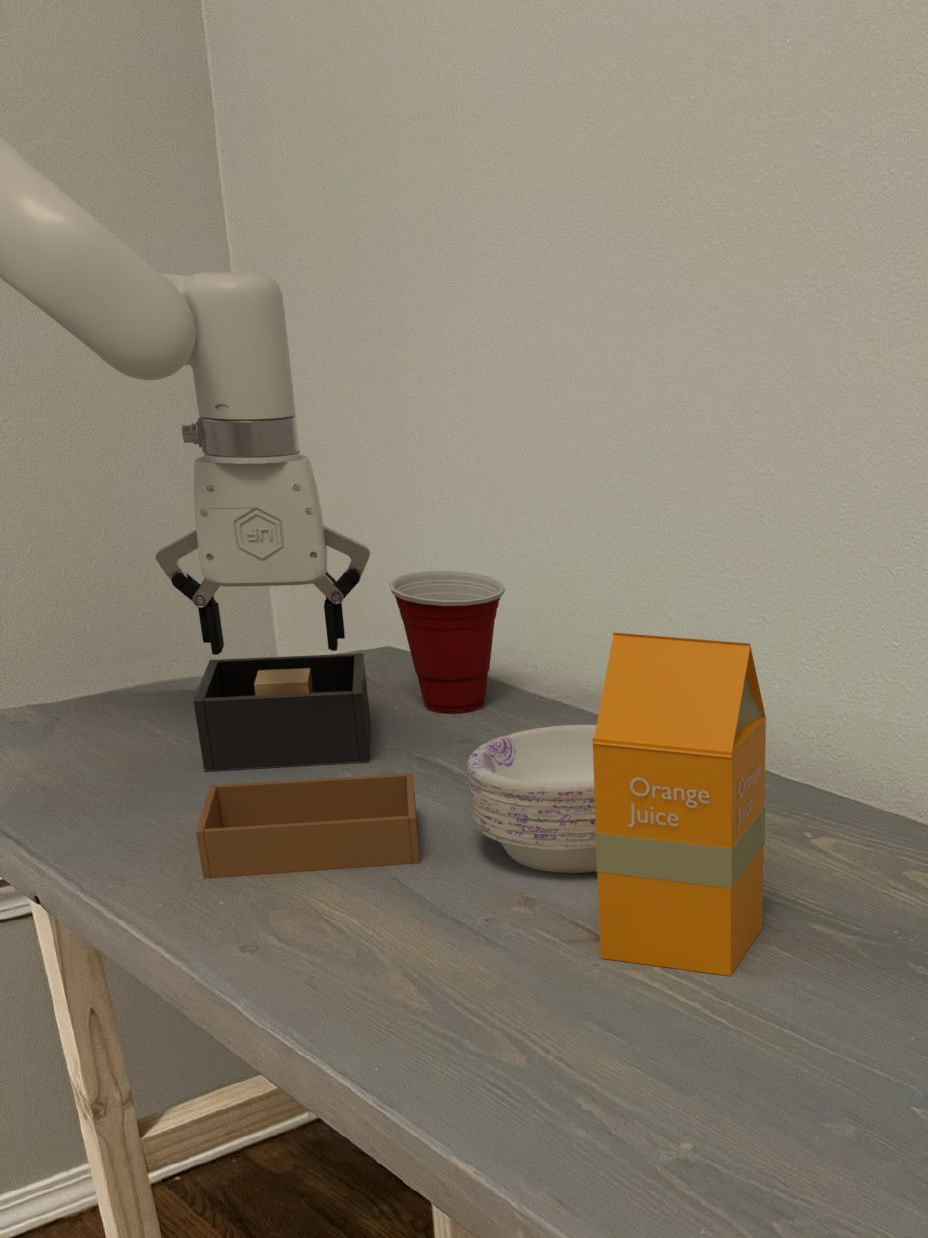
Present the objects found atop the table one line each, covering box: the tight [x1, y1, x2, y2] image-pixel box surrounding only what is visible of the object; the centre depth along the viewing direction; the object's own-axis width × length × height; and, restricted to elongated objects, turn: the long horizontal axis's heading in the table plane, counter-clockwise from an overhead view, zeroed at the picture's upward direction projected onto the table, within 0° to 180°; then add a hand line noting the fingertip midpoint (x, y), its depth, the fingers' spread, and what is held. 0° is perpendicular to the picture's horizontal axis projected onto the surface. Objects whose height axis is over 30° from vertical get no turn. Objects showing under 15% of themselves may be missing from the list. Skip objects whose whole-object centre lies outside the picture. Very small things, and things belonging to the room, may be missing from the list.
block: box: [254, 668, 313, 696], centre depth 131 cm, size 4×4×6 cm
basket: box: [192, 652, 372, 773], centre depth 131 cm, size 14×14×7 cm
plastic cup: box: [388, 570, 506, 714], centre depth 142 cm, size 11×11×12 cm
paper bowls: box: [466, 724, 597, 874], centre depth 109 cm, size 15×15×8 cm
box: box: [195, 772, 421, 880], centre depth 109 cm, size 15×10×4 cm, turn 102°
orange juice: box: [592, 632, 767, 977], centre depth 92 cm, size 8×9×20 cm
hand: (276, 648), depth 128 cm, fingers open, 9 cm apart
